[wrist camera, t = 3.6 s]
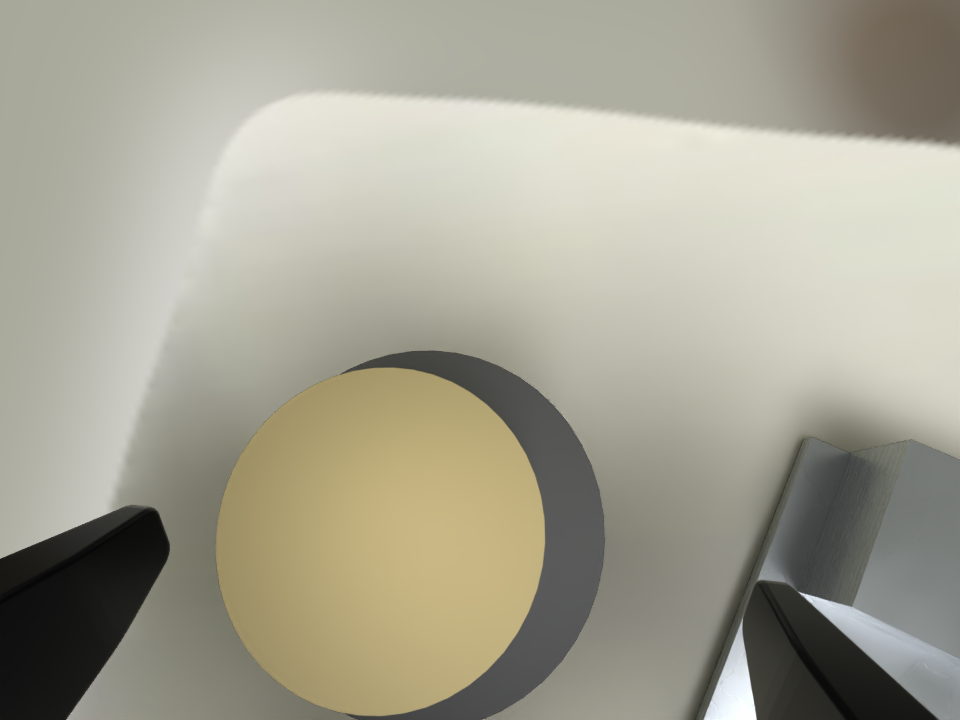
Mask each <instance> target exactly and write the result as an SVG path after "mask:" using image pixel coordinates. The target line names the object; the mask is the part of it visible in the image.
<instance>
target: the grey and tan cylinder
mask: <svg viewBox="0 0 960 720" xmlns="http://www.w3.org/2000/svg"><path fill="white" fill-rule="evenodd" d="M604 544H605V535H604V515H603V509H602V503H601V498H600V492H599V488H598V485H597V482H596V478H595V475H594V472H593V469H592V466H591V464H590V461H589V459H588V457H587V455H586V453H585V451H584V448H583V446H582V444H581V443H580V441H579V439H578V438H577V436H576V435H575V433H574V431H573V430H572V428H571V427H570V425H569V424H568V422H567V421H566V420H565V419H564V417H563V416H562V415H561V414H560V413H559V411H558V410H557V409H556V408H555V407H554V405H552V404H551V403H550V402H549V401H548V400H547V399H546V398H545V397H544V396H543V395H542V394H541V393H540V392H539V391H538V390H536V389H535V388H534V387H532V386H531V385H529V384H528V383H527V382H525V381H524V380H522V379H521V378H520V377H518V376H516V375H514V374H513V373H511V372H509V371H507V370H505V369H503V368H501V367H499V366H497V365H495V364H492V363H489V362H487V361H484V360H481V359H479V358H475V357H471V356H467V355H462V354H458V353H451V352H442V351H411V352H404V353H398V354H391V355H387V356H384V357H380V358H377V359H373V360H370V361H367V362H365V363H363V364H360V365H358V366H356V367H353V368H351V369H349V370H347V371H345V372H343V373H342V374H340V375H337V376H334V377H331V378H329V379H327V380H324V381H322V382H320V383H317V384H315V385H313V386H311V387H310V388H308V389H306V390H305V391H303V392H301V393H299V394H298V395H296V396H295V397H293V398H292V399H291V400H289V401H288V402H287V403H285V404H284V405H283V406H282V407H280V408H279V409H278V410H277V411H276V412H275V413H274V414H273V415H272V416H271V417H270V418H269V419H268V420H267V421H266V422H265V423H264V424H263V425H262V426H261V427H260V429H259V430H258V431H257V432H256V434H255V435H254V436H253V437H252V438H251V440H250V441H249V443H248V445H247V446H246V448H245V449H244V451H243V452H242V454H241V456H240V457H239V459H238V461H237V463H236V465H235V467H234V469H233V471H232V474H231V476H230V478H229V481H228V484H227V487H226V490H225V492H224V495H223V499H222V503H221V508H220V512H219V517H218V524H217V534H216V565H217V572H218V579H219V586H220V589H221V593H222V597H223V600H224V604H225V607H226V610H227V612H228V615H229V617H230V619H231V622H232V624H233V626H234V629H235V630H236V632H237V634H238V635H239V637H240V639H241V640H242V642H243V644H244V646H245V647H246V649H247V650H248V651H249V652H250V654H251V655H252V656H253V657H254V659H255V660H256V661H257V663H258V664H259V665H260V666H261V667H262V668H263V669H264V670H265V671H266V672H267V673H268V674H269V675H270V676H271V677H273V678H274V679H275V680H276V681H277V682H278V683H280V684H281V685H283V686H284V687H285V688H287V689H288V690H290V691H291V692H292V693H294V694H296V695H298V696H300V697H301V698H303V699H305V700H307V701H309V702H311V703H313V704H316V705H319V706H321V707H324V708H327V709H330V710H333V711H337V712H342V713H345V714H347V715H349V716H351V717H353V718H355V719H358V720H482V719H484V718H487V717H489V716H491V715H494V714H496V713H498V712H501V711H502V710H504V709H506V708H507V707H509V706H511V705H512V704H514V703H515V702H517V701H519V700H520V699H522V698H524V697H525V696H526V695H527V694H528V693H530V692H531V691H532V690H533V689H534V688H536V687H537V686H538V685H539V684H540V683H542V682H543V681H544V680H545V679H546V678H547V677H548V676H549V674H550V673H551V672H552V671H553V670H554V669H555V668H556V667H557V666H558V665H559V664H560V662H561V661H562V660H563V658H564V657H565V656H566V654H567V653H568V651H569V650H570V648H571V647H572V646H573V644H574V643H575V641H576V640H577V638H578V636H579V634H580V632H581V630H582V628H583V626H584V624H585V622H586V620H587V618H588V616H589V613H590V611H591V608H592V605H593V602H594V599H595V596H596V594H597V590H598V586H599V581H600V576H601V572H602V567H603V556H604Z"/></svg>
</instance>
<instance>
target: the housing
mask: <svg viewBox="0 0 960 720" xmlns="http://www.w3.org/2000/svg"><path fill="white" fill-rule="evenodd" d="M762 579H764V580H772V581H780V582H786V583H788V584H789V585H791V586H792V587H794V588H795V589H796V590H797V591H798V592H799V593H800V594H801V595H802V596H803V597H805V598H806V599H807V600H808V601H809V602H810V603H811V604H812V605H813V606H815V607H816V608H817V609H818V610H819V611H820V612H821V613H822V614H823V615H824V616H826V617H827V618H828V619H829V620H830V621H831V622H832V623H833V624H834V625H835V626H837V627H838V628H839V629H840V630H841V631H842V632H843V633H844V634H845V635H847V636H848V637H849V638H850V639H851V640H852V641H853V642H854V643H855V644H856V645H858V646H859V647H860V648H861V649H862V650H863V651H864V652H865V653H866V654H867V655H869V656H870V657H871V658H872V659H873V660H874V661H875V662H876V663H877V664H879V665H880V666H881V667H882V668H883V669H884V670H885V671H886V672H887V673H888V674H890V675H891V676H892V677H893V678H894V679H895V680H896V681H897V682H898V683H899V684H901V685H902V686H903V687H904V688H905V689H906V690H907V691H908V692H909V693H911V694H912V695H913V696H914V697H915V698H916V699H917V700H918V701H919V702H920V703H922V704H923V705H924V706H925V707H926V708H927V709H928V710H929V711H930V712H931V713H933V714H934V715H935V716H936V717H937V718H938V719H939V720H960V460H959V459H957V458H954V457H952V456H950V455H947V454H945V453H942V452H940V451H938V450H935V449H933V448H931V447H928V446H926V445H923V444H921V443H919V442H916V441H914V440H912V439H911V440H906V441H901V442H897V443H892V444H887V445H883V446H878V447H873V448H869V449H864V450H859V451H855V452H850V453H848V452H846V451H844V450H841V449H839V448H837V447H834V446H832V445H830V444H827V443H825V442H823V441H821V440H818V439H816V438H814V437H811V438H807V439H804V440H803V442H802V445H801V448H800V450H799V453H798V455H797V458H796V461H795V463H794V466H793V468H792V471H791V474H790V476H789V479H788V481H787V484H786V486H785V489H784V492H783V494H782V497H781V499H780V502H779V505H778V507H777V510H776V512H775V515H774V518H773V520H772V523H771V525H770V528H769V530H768V533H767V536H766V538H765V541H764V543H763V546H762V549H761V551H760V554H759V556H758V559H757V562H756V564H755V567H754V569H753V572H752V574H751V577H750V580H749V582H748V585H747V587H746V590H745V593H744V595H743V598H742V600H741V603H740V606H739V608H738V611H737V613H736V616H735V618H734V621H733V624H732V626H731V629H730V631H729V634H728V637H727V639H726V642H725V644H724V647H723V650H722V652H721V655H720V657H719V660H718V662H717V665H716V668H715V670H714V673H713V675H712V678H711V681H710V683H709V686H708V688H707V691H706V694H705V696H704V699H703V701H702V704H701V706H700V709H699V712H698V714H697V717H696V719H695V720H757V718H756V712H755V706H754V700H753V695H752V689H751V683H750V677H749V671H748V665H747V659H746V653H745V647H744V641H743V633H742V622H743V616H744V613H745V610H746V607H747V604H748V602H749V599H750V596H751V593H752V590H753V587H754V585H755V583H756V582H757V581H758V580H762Z"/></svg>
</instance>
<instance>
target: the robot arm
mask: <svg viewBox="0 0 960 720" xmlns="http://www.w3.org/2000/svg"><path fill="white" fill-rule="evenodd" d="M169 551H170V544H169V540H168V537H167V534H166V532H165V529H164V526H163V523H162V521H161V518H160V515H159V513H158V511H157V510H156V509H155V508H152V507H147V506H137V505H129V506H126V507H123V508H121V509H118V510H116V511H114V512H111V513H109V514H106V515H104V516H102V517H99V518H97V519H94V520H92V521H90V522H87V523H85V524H82V525H80V526H78V527H75V528H73V529H71V530H68V531H66V532H63V533H61V534H58V535H56V536H54V537H51V538H49V539H47V540H44V541H42V542H39V543H37V544H35V545H32V546H30V547H27V548H25V549H22V550H20V551H18V552H15V553H13V554H11V555H8V556H6V557H3V558H1V559H0V720H66V719H67V718H68V716H69V715H70V713H71V712H72V711H73V709H74V708H75V706H76V705H77V704H78V702H79V701H80V699H81V698H82V696H83V695H84V694H85V692H86V691H87V689H88V688H89V687H90V685H91V684H92V682H93V681H94V679H95V678H96V677H97V675H98V674H99V672H100V671H101V669H102V668H103V667H104V665H105V664H106V662H107V661H108V660H109V658H110V657H111V655H112V654H113V652H114V651H115V649H116V648H117V646H118V645H119V643H120V642H121V640H122V638H123V637H124V635H125V633H126V632H127V630H128V629H129V627H130V625H131V623H132V622H133V620H134V618H135V616H136V614H137V613H138V611H139V609H140V607H141V606H142V604H143V602H144V600H145V599H146V597H147V595H148V593H149V592H150V590H151V588H152V586H153V585H154V583H155V581H156V579H157V577H158V576H159V574H160V572H161V570H162V569H163V567H164V565H165V563H166V561H167V559H168V556H169ZM742 633H743V641H744V647H745V653H746V659H747V665H748V671H749V677H750V683H751V689H752V695H753V700H754V706H755V712H756V718H757V720H939V719H938V718H937V717H936V716H935V715H934V714H933V713H931V712H930V711H929V710H928V709H927V708H926V707H925V706H924V705H923V704H922V703H920V702H919V701H918V700H917V699H916V698H915V697H914V696H913V695H912V694H911V693H909V692H908V691H907V690H906V689H905V688H904V687H903V686H902V685H901V684H899V683H898V682H897V681H896V680H895V679H894V678H893V677H892V676H891V675H890V674H888V673H887V672H886V671H885V670H884V669H883V668H882V667H881V666H880V665H879V664H877V663H876V662H875V661H874V660H873V659H872V658H871V657H870V656H869V655H867V654H866V653H865V652H864V651H863V650H862V649H861V648H860V647H859V646H858V645H856V644H855V643H854V642H853V641H852V640H851V639H850V638H849V637H848V636H847V635H845V634H844V633H843V632H842V631H841V630H840V629H839V628H838V627H837V626H835V625H834V624H833V623H832V622H831V621H830V620H829V619H828V618H827V617H826V616H824V615H823V614H822V613H821V612H820V611H819V610H818V609H817V608H816V607H815V606H813V605H812V604H811V603H810V602H809V601H808V600H807V599H806V598H805V597H803V596H802V595H801V594H800V593H799V592H798V591H797V590H796V589H795V588H794V587H792V586H791V585H789V584H788V583H786V582H780V581H772V580H764V579H762V580H758V581H757V582H756V583H755V585H754V587H753V590H752V593H751V596H750V599H749V602H748V604H747V607H746V610H745V613H744V616H743V622H742Z"/></svg>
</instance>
